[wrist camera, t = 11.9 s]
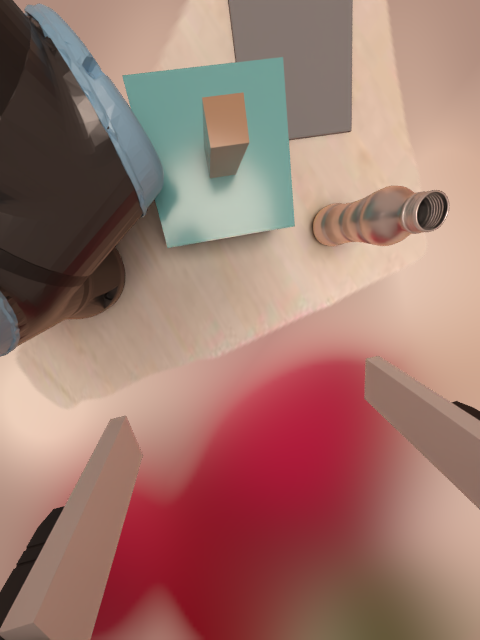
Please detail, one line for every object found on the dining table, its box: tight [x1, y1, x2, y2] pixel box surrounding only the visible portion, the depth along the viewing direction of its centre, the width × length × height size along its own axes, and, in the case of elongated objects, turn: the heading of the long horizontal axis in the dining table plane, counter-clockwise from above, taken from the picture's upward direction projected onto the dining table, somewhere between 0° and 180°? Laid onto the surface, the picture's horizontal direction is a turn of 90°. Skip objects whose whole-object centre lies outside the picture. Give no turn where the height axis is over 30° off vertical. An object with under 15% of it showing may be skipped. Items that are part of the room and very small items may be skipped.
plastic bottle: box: [313, 186, 449, 246], centre depth 31 cm, size 6×7×20 cm
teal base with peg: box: [123, 57, 295, 248], centre depth 26 cm, size 16×16×20 cm
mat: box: [228, 0, 352, 140], centre depth 32 cm, size 17×17×1 cm
